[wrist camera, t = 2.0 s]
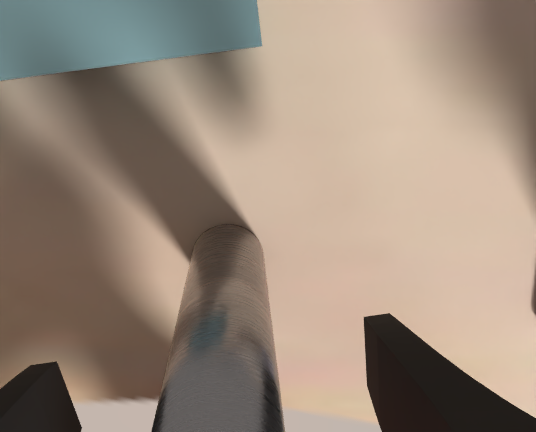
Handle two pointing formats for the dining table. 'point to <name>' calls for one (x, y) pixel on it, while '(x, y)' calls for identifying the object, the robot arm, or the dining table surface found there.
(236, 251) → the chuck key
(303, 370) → the dining table surface
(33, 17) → the block
